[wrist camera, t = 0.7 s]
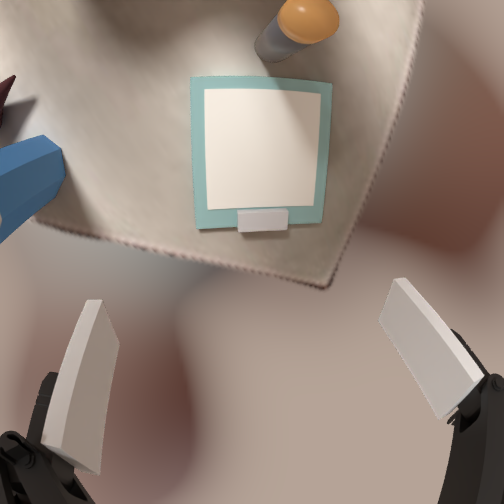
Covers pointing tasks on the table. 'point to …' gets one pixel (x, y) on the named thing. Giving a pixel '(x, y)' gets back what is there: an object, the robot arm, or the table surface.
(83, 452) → the robot arm
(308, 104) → the clipboard
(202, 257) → the table surface
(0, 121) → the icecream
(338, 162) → the table surface
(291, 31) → the marker
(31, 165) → the water bottle
